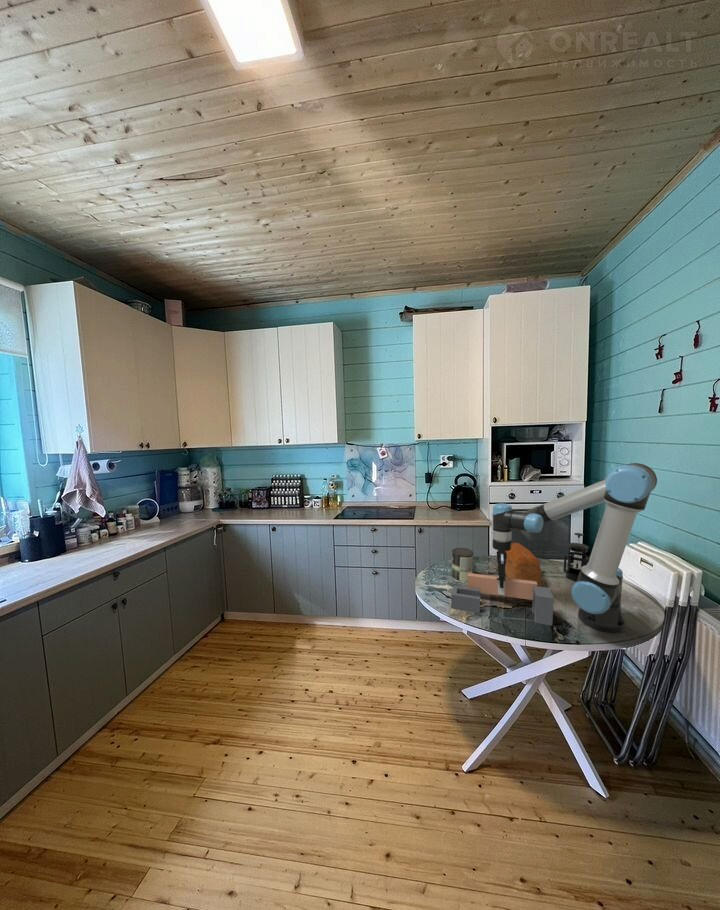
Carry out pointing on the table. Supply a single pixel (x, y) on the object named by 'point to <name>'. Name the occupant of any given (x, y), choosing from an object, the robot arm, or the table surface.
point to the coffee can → (462, 564)
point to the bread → (522, 564)
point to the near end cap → (542, 605)
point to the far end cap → (465, 599)
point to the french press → (572, 567)
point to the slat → (512, 586)
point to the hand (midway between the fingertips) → (501, 592)
